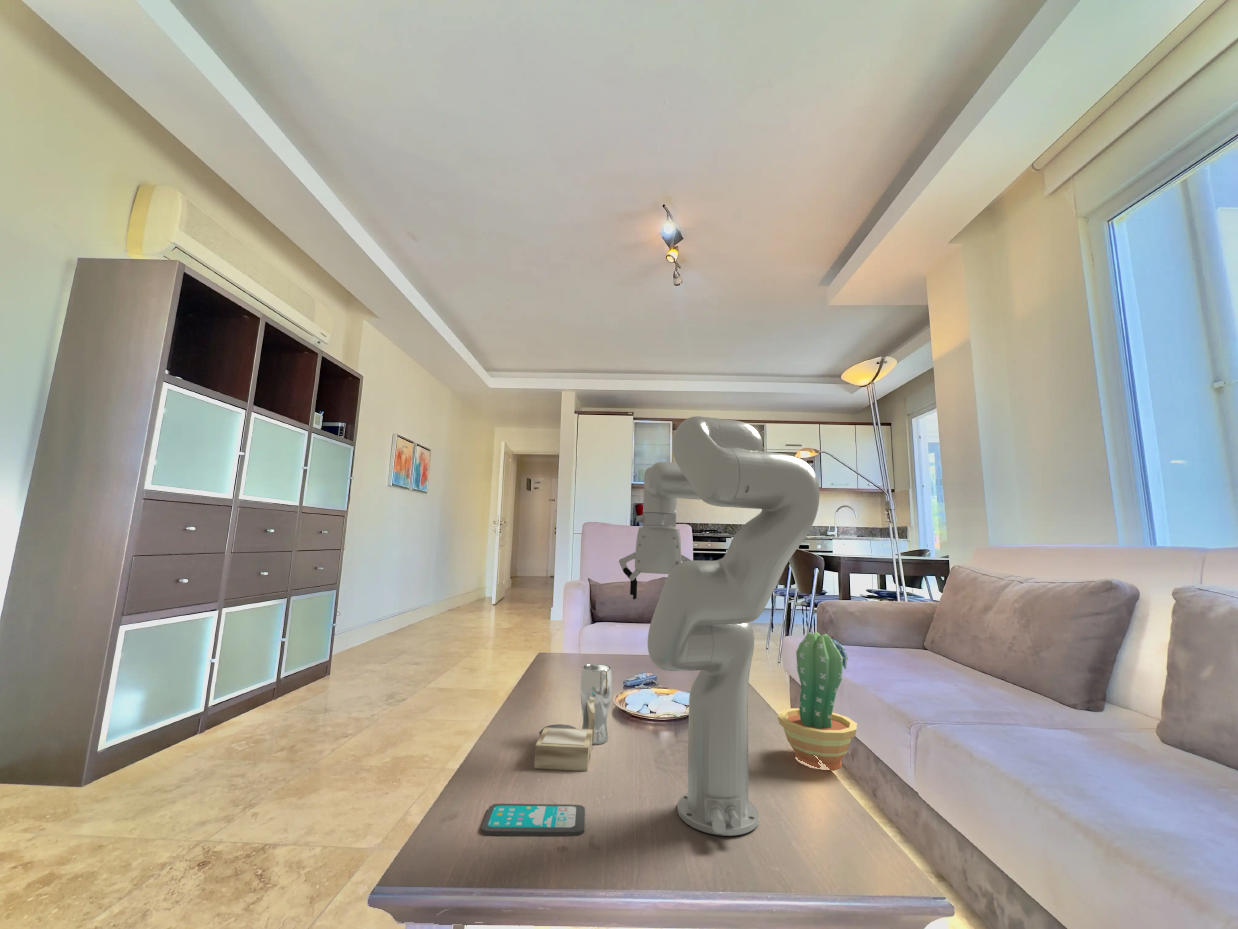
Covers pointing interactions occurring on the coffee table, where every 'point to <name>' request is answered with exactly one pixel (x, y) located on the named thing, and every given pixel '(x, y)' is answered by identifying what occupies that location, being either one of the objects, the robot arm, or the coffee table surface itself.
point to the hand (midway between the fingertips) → (656, 599)
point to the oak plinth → (564, 749)
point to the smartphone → (534, 820)
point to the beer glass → (596, 700)
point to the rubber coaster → (559, 726)
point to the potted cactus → (819, 704)
